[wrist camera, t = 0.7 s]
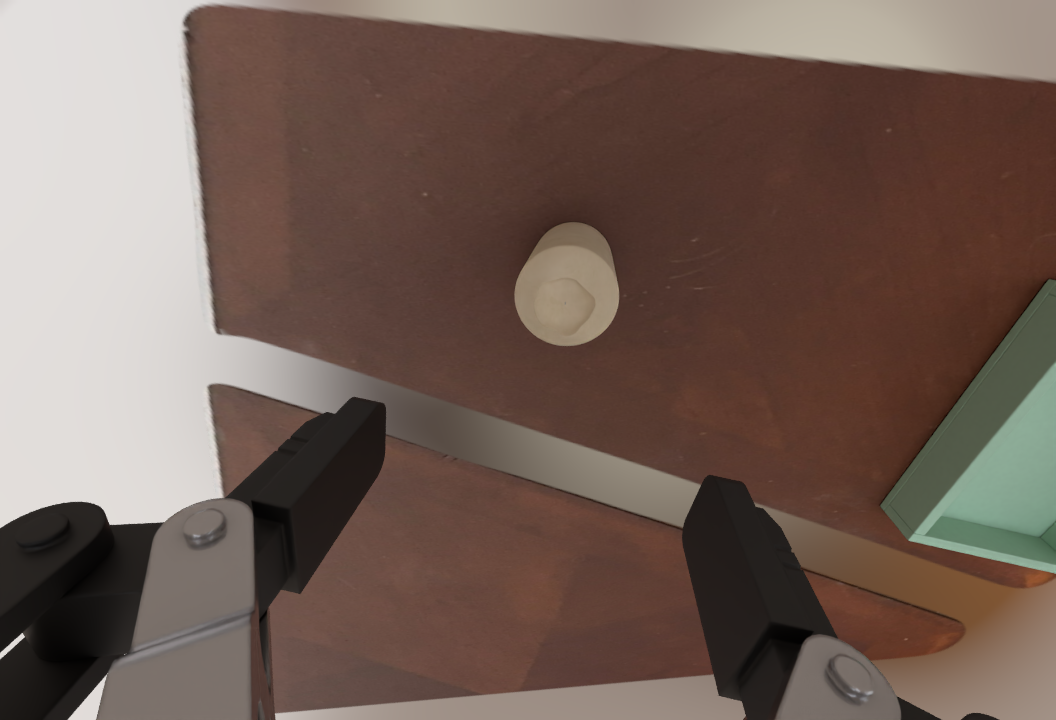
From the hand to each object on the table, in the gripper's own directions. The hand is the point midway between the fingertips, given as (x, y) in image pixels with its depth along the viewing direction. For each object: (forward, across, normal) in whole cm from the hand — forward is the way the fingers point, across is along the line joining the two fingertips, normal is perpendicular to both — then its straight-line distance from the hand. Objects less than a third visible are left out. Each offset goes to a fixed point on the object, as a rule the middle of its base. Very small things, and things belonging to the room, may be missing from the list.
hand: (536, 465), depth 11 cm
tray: (+22, -36, +5) cm, 42 cm away
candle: (+22, 0, 0) cm, 22 cm away
